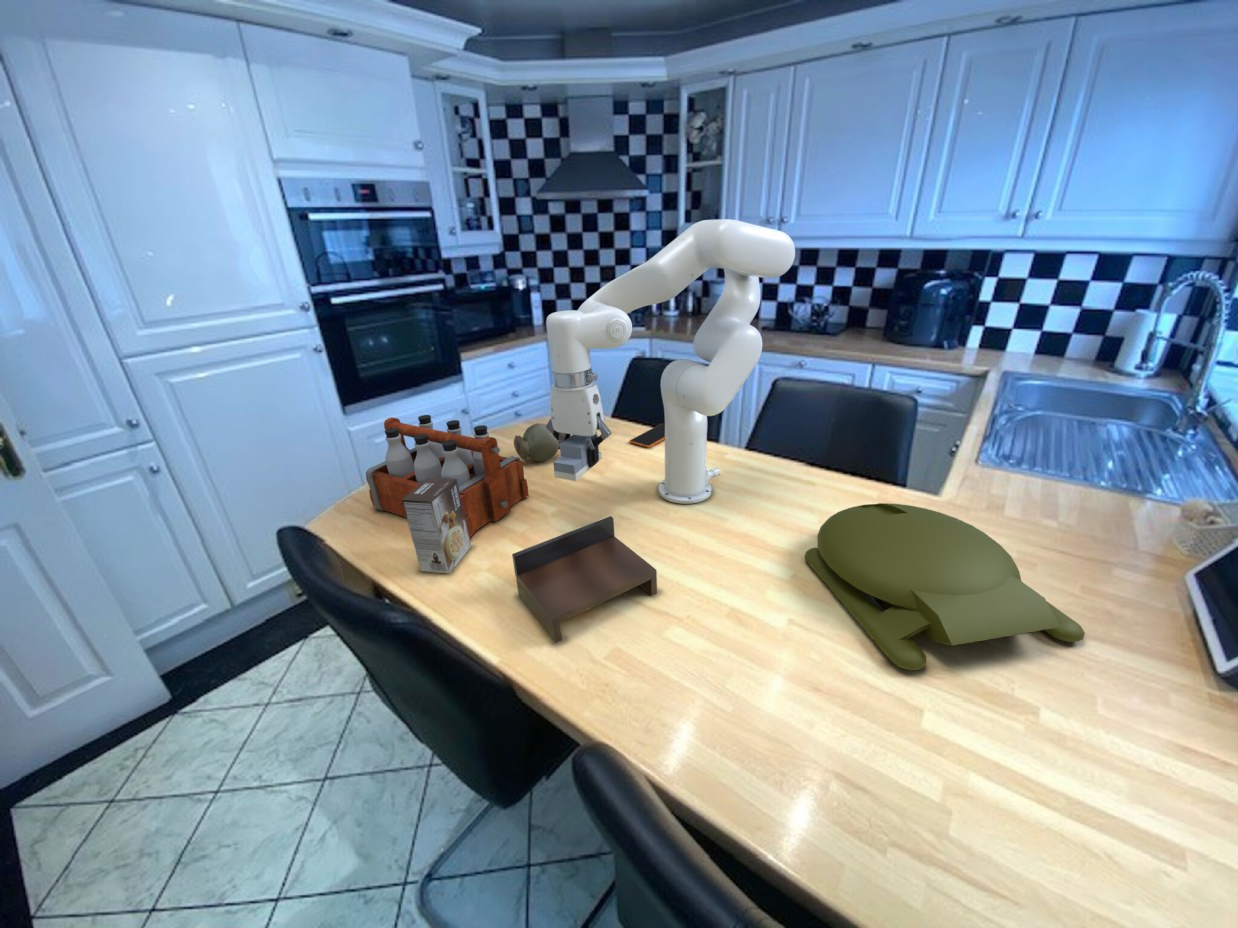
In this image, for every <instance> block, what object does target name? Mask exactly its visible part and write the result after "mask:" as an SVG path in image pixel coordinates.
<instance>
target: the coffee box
mask: <svg viewBox="0 0 1238 928" xmlns="http://www.w3.org/2000/svg"><path fill="white" fill-rule="evenodd" d="M402 503H403V506H404V510H405V514H406V517H405V518H406V521H407V524H408V525H407V526H408V528H409V533H410V535H411V539H412V544H413V547H414V551H415V554H416V558H417V562H418V565H419V569H420V572H427V573H438V574H447V575H448V574H451V573H452V572H453V570H454V569H455V568H456V566H457V565H458V564H459V563H460V561H461V560H462V559H463V558H464V556H465V555H466V554H467V553H468V552H469V551H470V549H471V548H472V544H471V540H470V537H469V534H468V530H467V525H466V520H465V515H464V511H463V506H462V501H461V497H460V492H459V487H458V483H457V479H456V478H430V477H428V478H426V479H425V480H424V481H423V482H422V483H421V484H419V485H418V486H417V487H416V488H415V489H414V490H412V491H411V492H410V493H409V494H408V495H406V496H405V497H404V498H403V499H402Z"/></svg>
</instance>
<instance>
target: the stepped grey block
mask: <svg viewBox="0 0 1238 928" xmlns="http://www.w3.org/2000/svg"><path fill="white" fill-rule="evenodd" d="M559 446H560V450H559V452H560V455H559V457H557V458H556V459H555V460H554V461H552V463H553V474H554V478H555V479H561V480H567V481H572V482H577V481H578V480H580V479H581V478H582V477H583V476H584V475H585V474H586V473H587V472H588V471H589V470H591V469H592V468H591V467H589V466H588V459H587V450H588V449H589V447H588V444H587V441H586V439H585V436H581V435H573V434H571V436H570V437H569V438H567V439H566V440H565V441H563V442H562V443H561V444H559ZM598 452H599V461H598V462H600V461H601V460H602V459H603V456H602V455H603V454H602V452H601V451H600V449H599V445H598Z"/></svg>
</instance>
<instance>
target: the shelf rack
mask: <svg viewBox="0 0 1238 928" xmlns="http://www.w3.org/2000/svg"><path fill="white" fill-rule="evenodd" d="M614 520H615V519H614V517H613V516H611V515H610V516H607V517H604V518H602V519H599V520H596V521H594V522H592V523H589V524H586V525H584V526H581V527H578V528H576V529H573V530H571V531H568V532H565V533H562V534H560V535H558V536H555V537H552V538H550V539H547V540H545V541H542V542H539V543H537V544H535V545H532V546H529V547H526V548H524V549H522V550H519V551H516V552H514V553H511V555H512V556H511V557H512V562H513V563H512V564H513V568H514V569H513V570H514V575H515V581H516V588H517V592H518V597H519V598H520V600H521V601H522V602H523V604H525V606H526V607H527V608H528V610H529V611H530V613H531V614H532V615H533V617H534V618H535V619H536V620H537V621H538V623H539V624H540V626H542V628H543V629H544V631H545V632H546V633H547V634H548V636H549V637H550V639H551V640H552V641H553V642H554V643H555V644H557V643H560V642H562V641H563V637H562V636H563V635H562V627H561V623H564V622H566V621H568V620H571V618H574V617H576V616H578V615H580V614H582V613H584V612H587V611H588V610H590V609H593V608H595V607H597V606H599V605H601V604H603V603H605V602H607V601H609V600H611V599H614V598H616V597H617V596H620V595H621V594H623V593H626V592H628V591H630V590H631V589H634V588H636V587H638V586H640V587H641V588H642V589H643V590H645V592H646V593H648V594H649V595H650V596H653V595H656V594H657V593H658V576H657V572H658V571H657V568H655V567H654V566H653V565H651V564H650V562H648V561H646V559H644V558H642V556H640V555H639V554H638V553H636V552H635V551H634V550H632V549H631V548H630V547H629V546H628V545H626V544H625V543H624V542H623V541H621V540H620V539H619V538H617V537H616V536H615V522H614Z"/></svg>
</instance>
